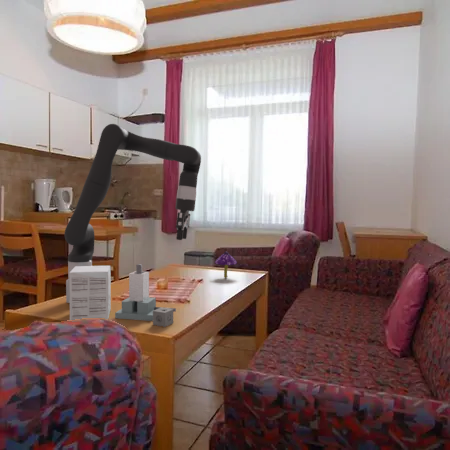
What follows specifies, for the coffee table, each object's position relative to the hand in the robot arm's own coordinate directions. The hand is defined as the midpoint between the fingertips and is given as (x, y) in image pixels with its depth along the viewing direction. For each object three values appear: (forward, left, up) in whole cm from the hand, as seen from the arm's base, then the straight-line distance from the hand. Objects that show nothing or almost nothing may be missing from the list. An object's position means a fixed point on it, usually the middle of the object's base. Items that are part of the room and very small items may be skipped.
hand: (181, 239), depth 148 cm
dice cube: (0, -20, -28) cm, 34 cm away
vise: (-9, -13, -28) cm, 32 cm away
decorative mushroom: (+7, +64, -28) cm, 70 cm away
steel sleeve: (-12, -13, -22) cm, 28 cm away
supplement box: (-29, -17, -28) cm, 44 cm away
